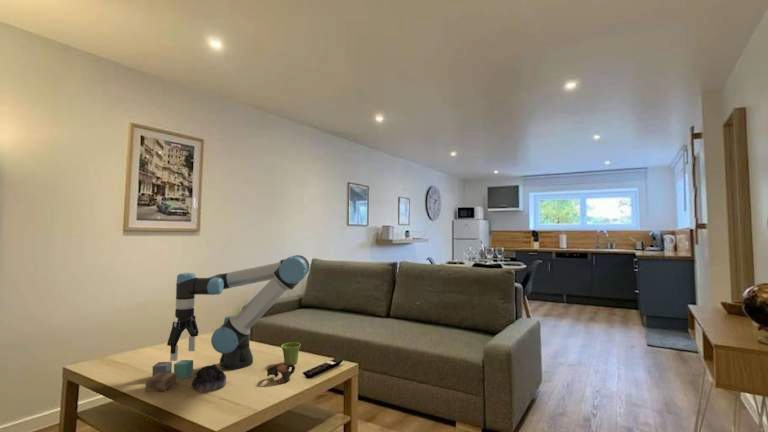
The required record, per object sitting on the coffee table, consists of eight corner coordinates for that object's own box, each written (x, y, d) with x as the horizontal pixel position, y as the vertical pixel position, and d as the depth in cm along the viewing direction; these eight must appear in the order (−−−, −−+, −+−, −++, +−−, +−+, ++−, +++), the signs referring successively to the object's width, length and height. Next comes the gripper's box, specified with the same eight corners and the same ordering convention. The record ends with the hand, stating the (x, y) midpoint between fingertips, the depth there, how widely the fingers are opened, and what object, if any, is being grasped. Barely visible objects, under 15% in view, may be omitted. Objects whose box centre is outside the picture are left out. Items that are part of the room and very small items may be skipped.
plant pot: (276, 364, 184) (277, 346, 184) (288, 358, 193) (288, 341, 193) (293, 367, 181) (293, 348, 181) (304, 361, 189) (304, 343, 190)
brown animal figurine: (274, 387, 158) (266, 368, 160) (269, 390, 165) (263, 372, 168) (300, 374, 165) (293, 356, 167) (295, 377, 172) (288, 360, 175)
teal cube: (192, 373, 173) (193, 360, 173) (185, 378, 167) (186, 364, 168) (181, 373, 173) (181, 359, 173) (173, 377, 168) (174, 364, 168)
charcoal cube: (171, 375, 171) (171, 361, 171) (165, 379, 165) (166, 365, 166) (158, 375, 170) (158, 362, 170) (152, 380, 165) (152, 366, 165)
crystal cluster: (202, 381, 166) (200, 358, 165) (233, 378, 165) (231, 356, 165) (186, 397, 152) (183, 372, 152) (219, 394, 152) (217, 369, 152)
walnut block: (176, 384, 160) (176, 372, 161) (165, 392, 152) (165, 380, 153) (157, 384, 160) (157, 372, 161) (145, 392, 152) (145, 380, 153)
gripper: (192, 302, 184) (190, 346, 183) (158, 313, 159) (156, 364, 158) (207, 302, 184) (205, 347, 183) (176, 313, 159) (174, 365, 158)
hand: (183, 355), depth 171 cm, fingers open, 13 cm apart
